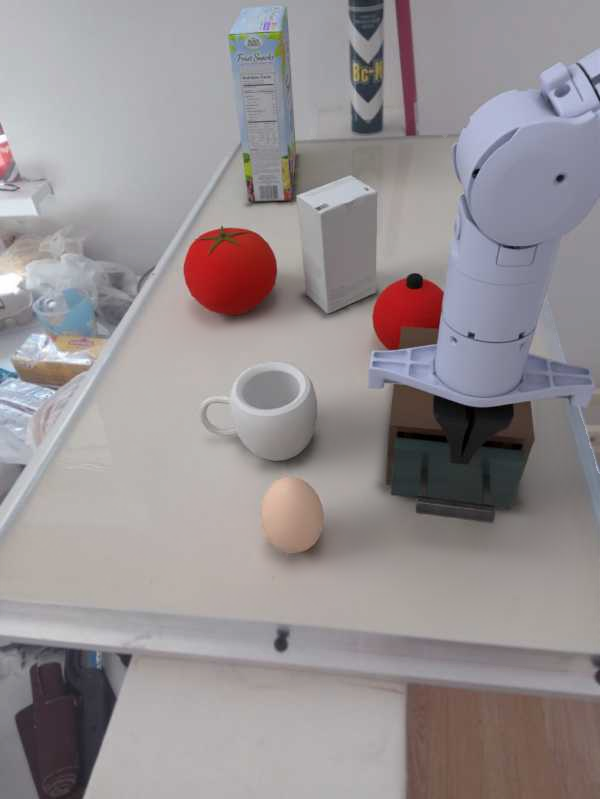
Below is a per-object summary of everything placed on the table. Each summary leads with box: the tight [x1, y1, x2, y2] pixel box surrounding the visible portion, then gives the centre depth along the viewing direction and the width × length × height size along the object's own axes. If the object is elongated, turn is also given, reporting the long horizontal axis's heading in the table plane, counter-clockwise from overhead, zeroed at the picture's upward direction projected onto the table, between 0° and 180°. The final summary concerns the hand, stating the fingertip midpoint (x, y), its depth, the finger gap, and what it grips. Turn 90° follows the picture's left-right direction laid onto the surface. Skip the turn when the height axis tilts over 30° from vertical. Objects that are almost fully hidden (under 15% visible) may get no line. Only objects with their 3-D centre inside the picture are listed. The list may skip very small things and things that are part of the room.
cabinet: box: [385, 327, 536, 501], centre depth 52 cm, size 14×12×9 cm
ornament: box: [371, 272, 444, 351], centre depth 62 cm, size 9×9×10 cm
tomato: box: [182, 225, 278, 316], centre depth 72 cm, size 11×12×10 cm
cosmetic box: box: [296, 174, 379, 315], centre depth 69 cm, size 8×6×15 cm
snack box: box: [227, 4, 297, 203], centre depth 95 cm, size 22×9×26 cm, turn 179°
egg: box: [260, 476, 325, 554], centre depth 45 cm, size 5×5×8 cm
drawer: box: [390, 432, 527, 524], centre depth 49 cm, size 17×10×7 cm, turn 168°
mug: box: [198, 361, 318, 462], centre depth 54 cm, size 12×8×8 cm
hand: (459, 454), depth 43 cm, fingers closed
